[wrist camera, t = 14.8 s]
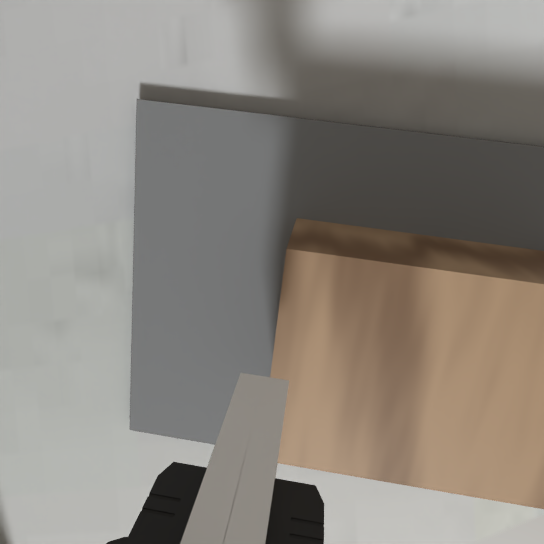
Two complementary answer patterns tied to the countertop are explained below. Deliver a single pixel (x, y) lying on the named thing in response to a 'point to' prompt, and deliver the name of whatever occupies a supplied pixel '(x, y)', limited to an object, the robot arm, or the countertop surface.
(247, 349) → the mat
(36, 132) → the countertop surface
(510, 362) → the walnut block
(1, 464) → the countertop surface
